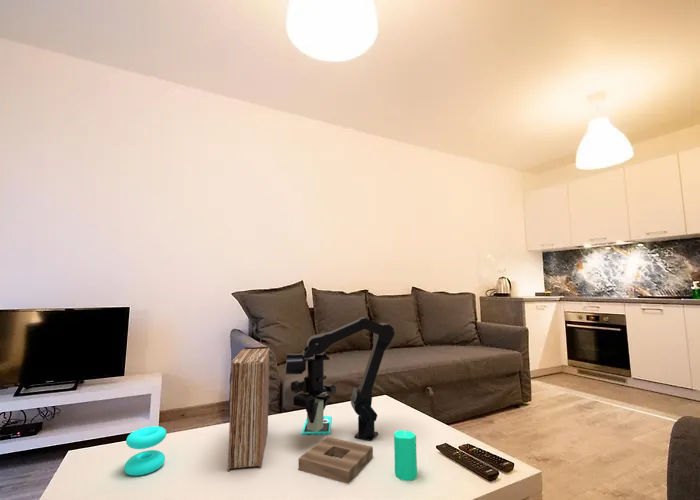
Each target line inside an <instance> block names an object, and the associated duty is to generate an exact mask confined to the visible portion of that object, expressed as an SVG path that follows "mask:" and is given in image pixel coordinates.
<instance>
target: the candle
mask: <svg viewBox="0 0 700 500" xmlns="http://www.w3.org/2000/svg"><path fill="white" fill-rule="evenodd" d="M393 436H394V437H393V439H394V440H393V441H394V446H393V448H394V450H393V451H394V475H395V477H396V478H398V480H400V481H401V480H402V481H404V482H405V481H406V482H409V481H414V480H416V479H417V477H418V465H417V464H418V459H417V455H418V454H417V435H416V434H415V433H414V432H412V431H411V430H402V429H399V430H396V431H394V433H393Z"/></svg>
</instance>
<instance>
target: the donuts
mask: <svg viewBox="0 0 700 500" xmlns="http://www.w3.org/2000/svg"><path fill="white" fill-rule="evenodd" d="M166 437H167V430H166V428H164V427H163V426H158V425H151V426H145V427H142V428H138V429H136V430H134V431H132V432H131V433H129V434H128V435H127V438H126V440H125V442H126V445H127V447H128V448H131V449H132V450H133V449H134V450H144V451H141V452H138V453H136V454H134V455H132V456H130V457H129V458H128V459H127V461H125V463H124V467H123V468H124V472H125V473H126V474H127V475H130V476H143V475H147V474H150V473H151V474H152V473H153V472H155V471H157V470H158V469H160V468H161V467H162V466H163V465H164V463H165V462H166V461H165V460H166V456H165V454H164V453H163V452H162V451H160V450H156V449H155V450H154V449H151V450H146V449H150V448H153V447H155V446H157V445H159V444H160V443H162V442H163V441H164V440H165V439H166Z"/></svg>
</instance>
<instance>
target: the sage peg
mask: <svg viewBox="0 0 700 500" xmlns="http://www.w3.org/2000/svg"><path fill="white" fill-rule="evenodd" d="M316 403H319V404H318V408H317V412H316V416H315V419H314V423H310V420H309V417H308V414H307V413H306V418H307V430H311V431H315V432H318V431H319V430H321V429H322V428H323V416H324V411H323V400H320V399H316Z"/></svg>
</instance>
